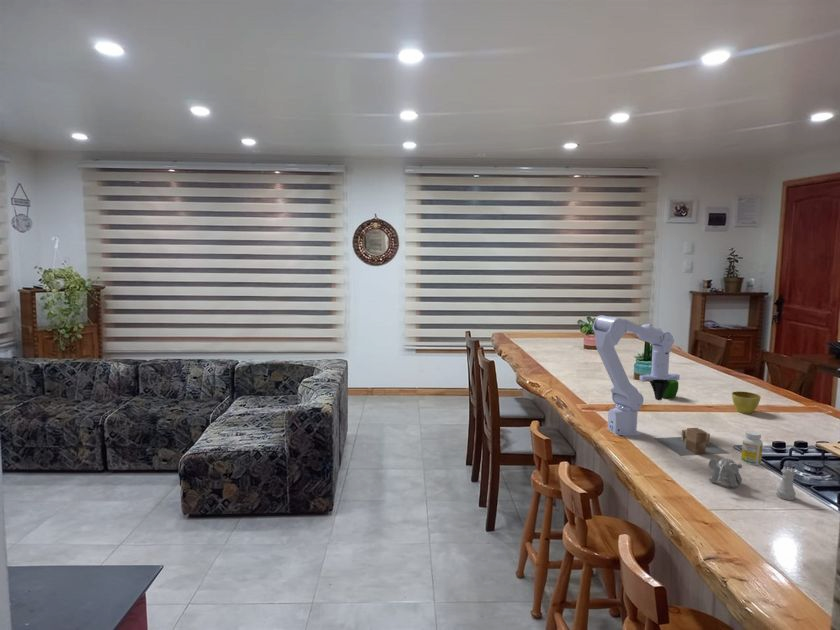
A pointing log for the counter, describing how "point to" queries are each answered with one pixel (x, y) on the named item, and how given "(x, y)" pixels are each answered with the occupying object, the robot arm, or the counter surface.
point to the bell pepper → (671, 389)
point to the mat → (680, 446)
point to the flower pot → (745, 401)
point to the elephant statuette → (725, 471)
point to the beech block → (684, 436)
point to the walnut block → (696, 440)
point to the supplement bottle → (752, 448)
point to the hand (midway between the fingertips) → (658, 399)
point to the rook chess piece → (787, 484)
